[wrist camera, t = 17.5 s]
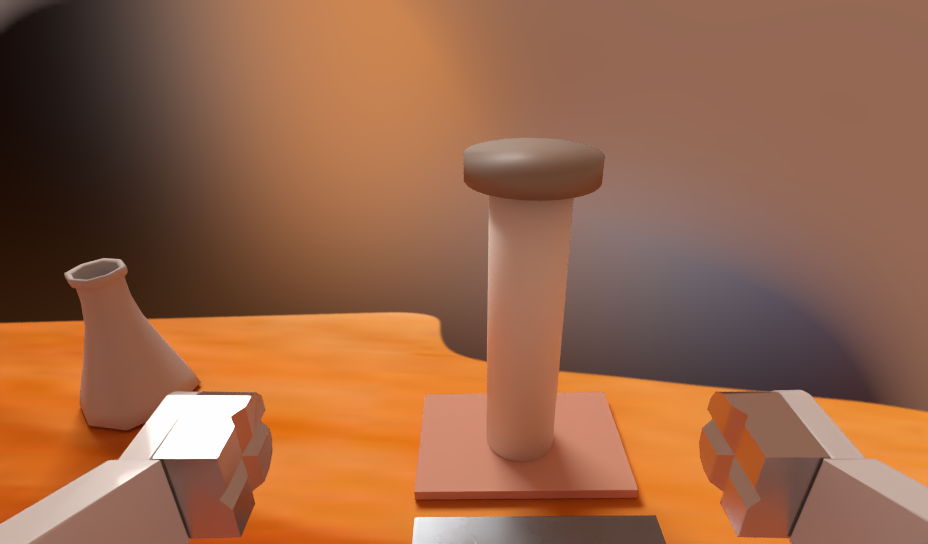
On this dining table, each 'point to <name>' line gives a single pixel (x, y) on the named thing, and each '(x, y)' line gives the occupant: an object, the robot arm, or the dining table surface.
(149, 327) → the flask
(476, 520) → the eye block
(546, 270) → the peg
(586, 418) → the pad
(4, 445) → the dining table surface
